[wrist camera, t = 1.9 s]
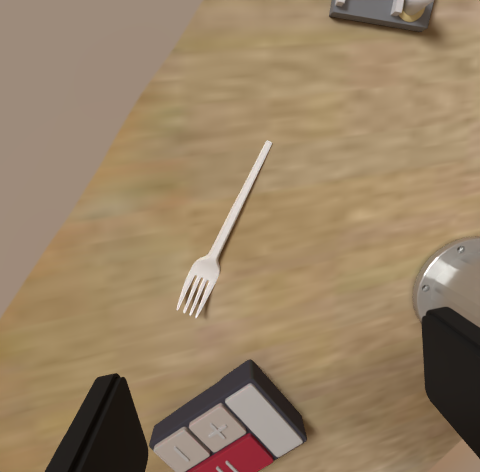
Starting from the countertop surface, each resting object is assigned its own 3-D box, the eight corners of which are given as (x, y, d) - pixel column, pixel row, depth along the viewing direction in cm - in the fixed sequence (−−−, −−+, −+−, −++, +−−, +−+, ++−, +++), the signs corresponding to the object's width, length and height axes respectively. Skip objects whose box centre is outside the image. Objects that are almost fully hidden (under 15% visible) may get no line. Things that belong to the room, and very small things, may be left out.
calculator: (145, 451, 37) (252, 382, 35) (154, 420, 41) (250, 356, 39) (206, 508, 39) (310, 446, 37) (209, 473, 44) (302, 416, 41)
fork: (283, 148, 34) (286, 147, 32) (200, 312, 37) (200, 320, 35) (254, 133, 33) (257, 131, 31) (174, 301, 37) (172, 308, 35)
